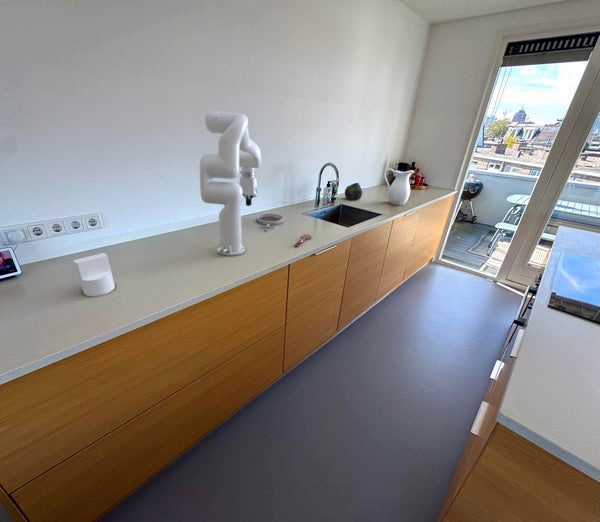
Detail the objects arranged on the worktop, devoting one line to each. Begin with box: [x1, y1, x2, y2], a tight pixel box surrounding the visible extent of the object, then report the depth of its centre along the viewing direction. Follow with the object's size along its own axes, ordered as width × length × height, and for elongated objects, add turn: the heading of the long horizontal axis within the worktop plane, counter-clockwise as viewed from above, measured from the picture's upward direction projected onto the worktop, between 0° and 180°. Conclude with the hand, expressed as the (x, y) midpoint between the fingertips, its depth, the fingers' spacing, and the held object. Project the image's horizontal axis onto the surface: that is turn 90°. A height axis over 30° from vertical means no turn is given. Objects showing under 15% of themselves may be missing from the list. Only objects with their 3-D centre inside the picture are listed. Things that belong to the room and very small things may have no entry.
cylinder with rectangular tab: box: [73, 252, 116, 297], centre depth 97 cm, size 9×9×12 cm
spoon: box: [294, 233, 312, 248], centre depth 151 cm, size 18×5×2 cm, turn 158°
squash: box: [344, 182, 363, 201], centre depth 244 cm, size 14×15×15 cm
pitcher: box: [383, 168, 415, 206], centre depth 240 cm, size 24×17×28 cm
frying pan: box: [255, 212, 285, 232], centre depth 173 cm, size 17×3×28 cm
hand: (248, 205), depth 174 cm, fingers closed
